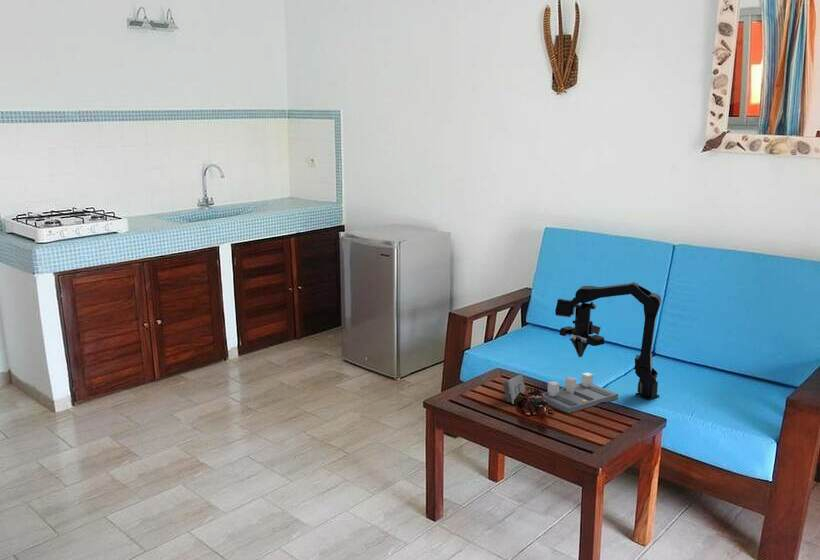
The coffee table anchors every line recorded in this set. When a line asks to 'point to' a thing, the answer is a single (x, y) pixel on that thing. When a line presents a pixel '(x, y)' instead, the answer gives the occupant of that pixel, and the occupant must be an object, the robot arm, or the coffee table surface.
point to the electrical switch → (513, 388)
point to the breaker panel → (577, 395)
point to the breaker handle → (570, 384)
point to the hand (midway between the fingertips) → (580, 356)
